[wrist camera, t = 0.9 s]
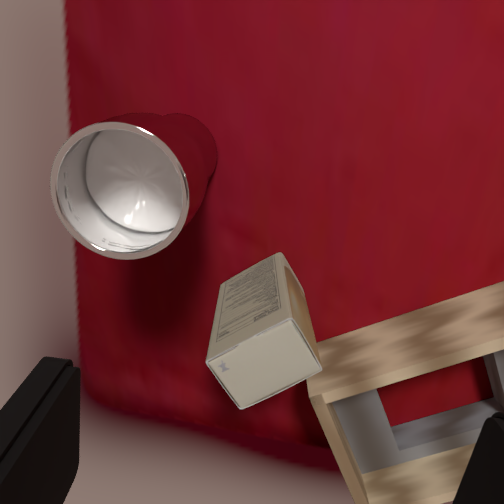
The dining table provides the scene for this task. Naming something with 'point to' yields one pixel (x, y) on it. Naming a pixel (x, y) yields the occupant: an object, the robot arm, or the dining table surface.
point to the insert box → (397, 369)
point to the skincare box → (262, 333)
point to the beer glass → (132, 181)
